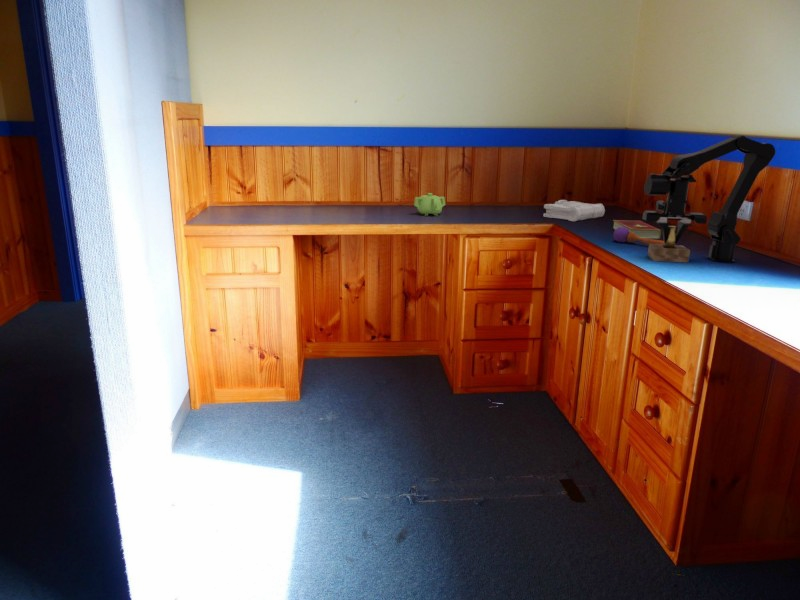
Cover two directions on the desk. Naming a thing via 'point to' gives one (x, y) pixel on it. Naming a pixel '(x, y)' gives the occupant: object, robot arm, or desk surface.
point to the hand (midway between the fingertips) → (670, 242)
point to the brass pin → (671, 237)
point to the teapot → (429, 204)
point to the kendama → (632, 237)
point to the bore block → (668, 253)
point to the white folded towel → (573, 210)
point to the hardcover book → (638, 228)
